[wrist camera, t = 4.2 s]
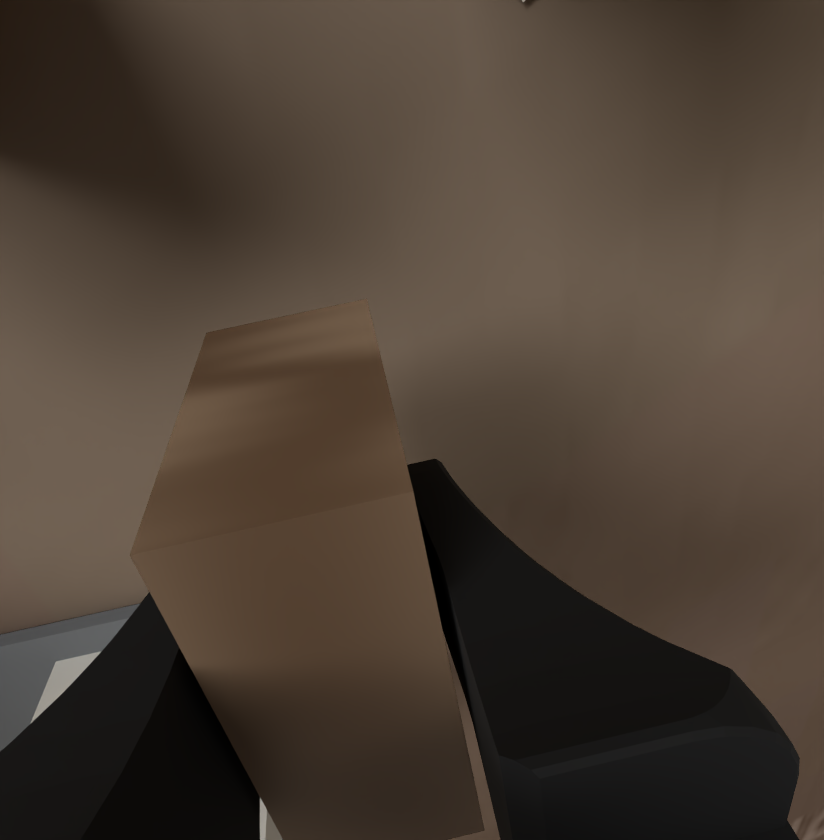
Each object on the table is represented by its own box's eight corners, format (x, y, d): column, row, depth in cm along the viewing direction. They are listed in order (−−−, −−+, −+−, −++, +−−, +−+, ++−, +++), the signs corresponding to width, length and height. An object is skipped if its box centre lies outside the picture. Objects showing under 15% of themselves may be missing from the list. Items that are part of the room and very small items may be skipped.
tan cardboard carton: (303, 598, 15) (302, 875, 10) (206, 332, 12) (130, 554, 7) (425, 570, 15) (484, 830, 10) (367, 298, 12) (413, 491, 7)
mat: (115, 868, 31) (112, 882, 30) (-68, 649, 22) (-77, 664, 22) (441, 791, 31) (443, 804, 31) (378, 550, 23) (380, 562, 22)
